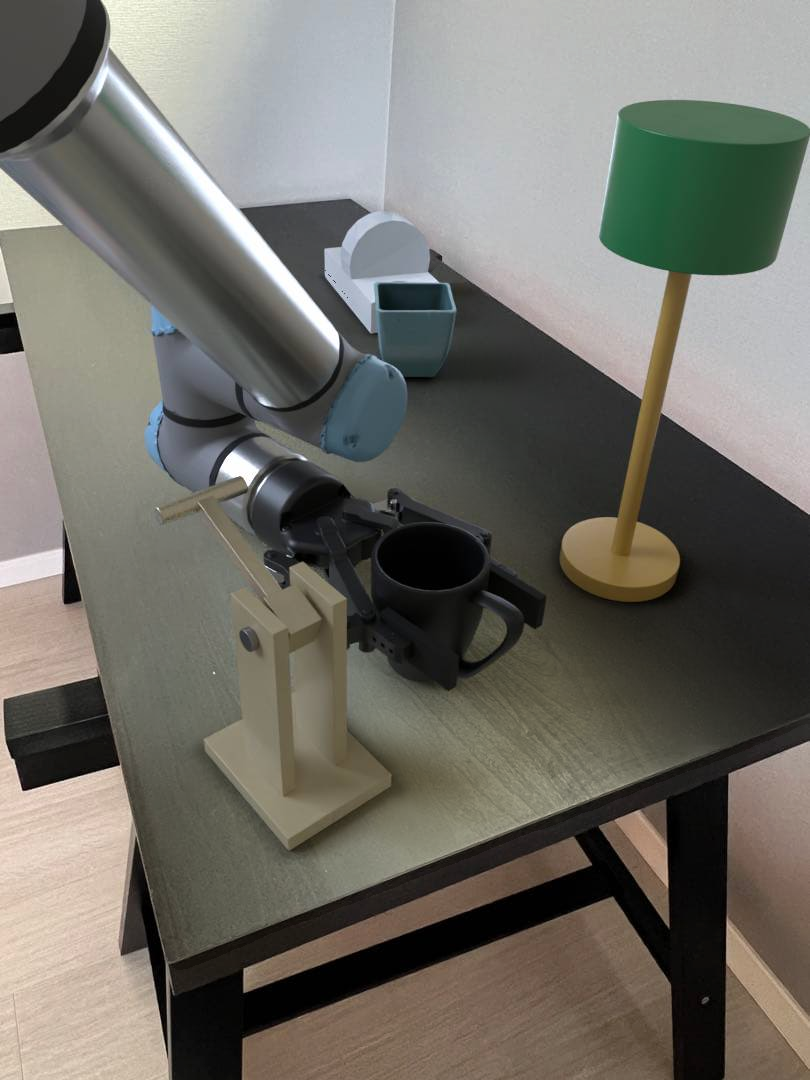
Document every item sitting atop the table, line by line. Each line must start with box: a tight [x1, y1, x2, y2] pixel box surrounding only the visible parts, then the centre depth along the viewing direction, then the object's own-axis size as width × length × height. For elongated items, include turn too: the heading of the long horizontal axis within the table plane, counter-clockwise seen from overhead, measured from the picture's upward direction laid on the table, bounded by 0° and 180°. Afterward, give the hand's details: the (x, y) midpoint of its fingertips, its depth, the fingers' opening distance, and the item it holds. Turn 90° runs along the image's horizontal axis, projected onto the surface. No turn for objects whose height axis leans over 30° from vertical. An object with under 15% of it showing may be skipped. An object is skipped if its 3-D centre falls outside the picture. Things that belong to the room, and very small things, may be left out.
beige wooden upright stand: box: [203, 562, 392, 852], centre depth 58 cm, size 10×8×15 cm
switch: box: [153, 476, 322, 655], centre depth 57 cm, size 12×6×2 cm, turn 40°
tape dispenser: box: [324, 210, 440, 334], centre depth 124 cm, size 20×11×11 cm, turn 21°
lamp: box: [559, 99, 810, 603], centre depth 71 cm, size 12×12×36 cm
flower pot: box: [374, 282, 457, 378], centre depth 108 cm, size 9×9×9 cm
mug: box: [370, 522, 525, 684], centre depth 67 cm, size 8×12×10 cm
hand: (499, 642), depth 63 cm, fingers closed on mug, 8 cm apart
